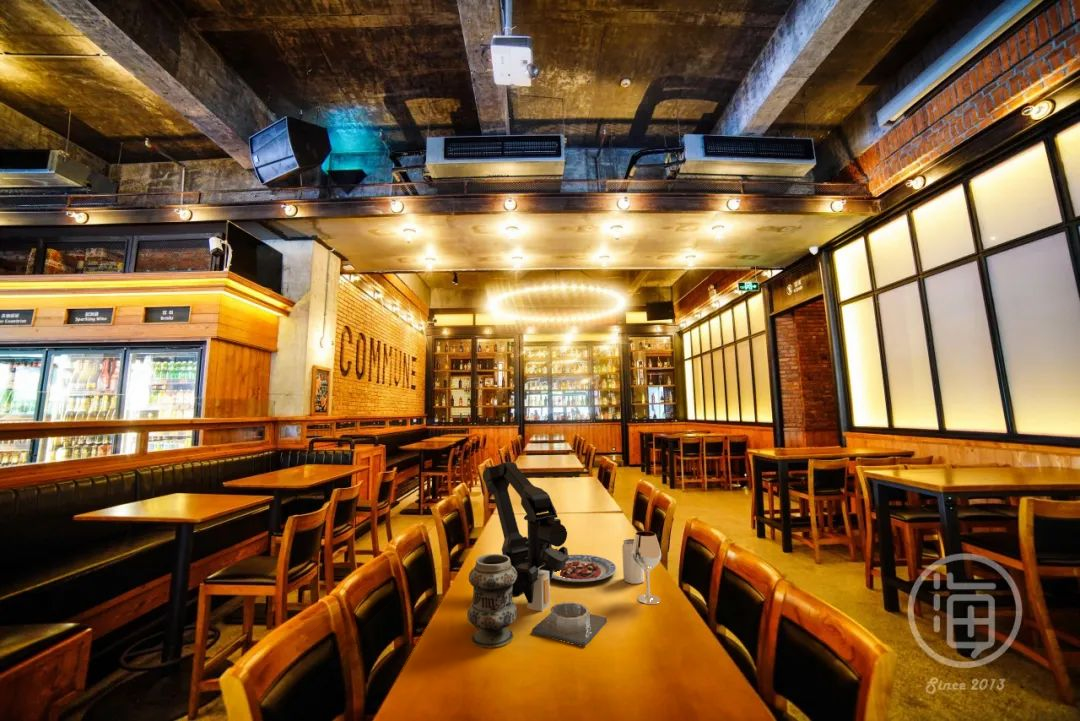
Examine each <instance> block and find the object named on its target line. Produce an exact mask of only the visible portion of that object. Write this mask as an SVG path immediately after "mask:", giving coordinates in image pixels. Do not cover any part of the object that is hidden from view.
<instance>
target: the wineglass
mask: <svg viewBox="0 0 1080 721" xmlns="http://www.w3.org/2000/svg"><path fill="white" fill-rule="evenodd" d="M634 534H635V535H634V538H633V539H634V543H633V549H632V555H633V558H634V560H635V562H636V563H637V564H638V565H639V566H640V567H641V568H642V569H643V570H644V573H645V575H646V576H645V577H646V593H645V594H640V595H638V596H637V601H638V602H640V603H642V604H645V605H657V604H659V603H661V598H660V597H659V596H657V595H654V594H651V588H650V585H651V584H650V572H651V571H652V570H653V569H654V568H655V567H656V566H657V565H658V564H659V563H660V561H661V559H662V550H661V548H660V542H659V541H658V538H657V534H656V533H655V532H652V531H647V530H646V531H645V530H641V531H636V532H635V533H634Z"/></svg>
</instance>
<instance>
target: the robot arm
mask: <svg viewBox="0 0 1080 721" xmlns="http://www.w3.org/2000/svg"><path fill="white" fill-rule="evenodd" d="M482 480H483V481H484V483H485V486H486V489H487V490H489V492H490V493H491V494H492V495H493V498H494V502H495V506H496V510H497V514H498V519H499V523H500V526H501V529H502V530H501V531H502V535H503V544H502V547H501V552H502V554H501V555H505V556H508V557H509V558H510V563H511V565H512V566H513V567H514V568H515V570H516V572H517V579H516V581H515V582H514V583H513V584H512V596H513V597H514V596H515V597H518V596H520V595H522V594H524V596H525V599H526V601H528V603H532V602H533V592H534V583H535V582H536V581H537V580H538V578H537V576H538V569H540V570H546V571H549V580H550V583H551V582H552V579H553V578H552V574H553V571H554V570H555V571H560V570H561V569H563V568H564V567H565V564H566V561H567V560H569V558H568V555H569V551H568V548H567V547H566V546H564V544H565V542H566V541H567V538H568V531H567V529H566V527H565V526H564V525H563V524H562V520H561V519H560V518H558V513H557V510H556V508H555V506H554V504H553V502H552V499H551V497H550V495H549V493H548V492H547V491H545V490H544V489H543V488H541V487H538V486H535V485H534V484H533V483H532V482H530V480H529V479H528V478H527V477H526V475H525V474H524V473H523V472H522V471H521V470H520V469H519V467H518V465H517V463H516V462H514V461H509V462H501V463H499V464H497V465H494V466H487V467H486V468H485V469H484V470H483V473H482ZM509 486H511V487H512V488H513V490H514V491H515V492H516V493H517V495H518V496H519V498H520V505H521V507H522V509H523V510H524V512H525V513H526V515H524V517H523V520H525V521H526V522H527V536H523V535H522V534H521V533H520V530H519V526H518V522H517V519H516V515H515V511H514V508H513V504H512V500H511V496H510V493H509V490H508V489H509ZM552 546H554V547H556V548H554V547H552ZM557 547H558V548H557ZM559 547H560V548H559ZM528 603H527V604H528Z"/></svg>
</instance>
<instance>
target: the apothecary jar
mask: <svg viewBox="0 0 1080 721" xmlns="http://www.w3.org/2000/svg"><path fill="white" fill-rule="evenodd" d="M516 579H517V572H516V570H515V568H514V567H513V566H512V565H511V563H510V558H509V557H508V556H505V555H503V554H500V553H489V554H484V555H481V556H478V557H477V558H476V559H475V565H474V567H473V568H472V569H471V570H470V572H469V574H468V582H469V583H470V585H471V586H472V587H473V592H472V595H473V596H472V603H471V604H470V606H469V607H468V609H467V614H466V615H467V616H466V617H467V620H468V622H469V623H470V624H471V625H472V626H473V627H475V628H477V629H478V630H476V631H475V632H474V633H473V635H472V637H471V641H472V643H473V644H474V645H475V646H478V647H480V648H485V649H496V648H499V647H503V646H506V645H507V644H509V643H511V642H512V641H513V639H514V633H513V630H511V629H509V628H508V627H509V626H510V625H512V624H513V623H514V622H515V620H516V619H517V617H518V607H517V605H516V603H515V602H514V600H513V595H512V584H513V583H514V582H515V581H516Z"/></svg>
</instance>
